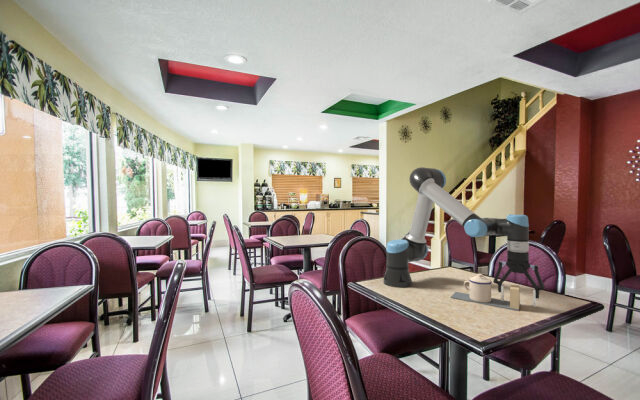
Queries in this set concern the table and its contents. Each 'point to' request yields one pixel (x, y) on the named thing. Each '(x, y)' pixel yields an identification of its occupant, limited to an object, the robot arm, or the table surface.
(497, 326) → the table surface
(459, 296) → the runner
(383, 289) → the table surface
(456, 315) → the table surface
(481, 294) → the teacup with lid
